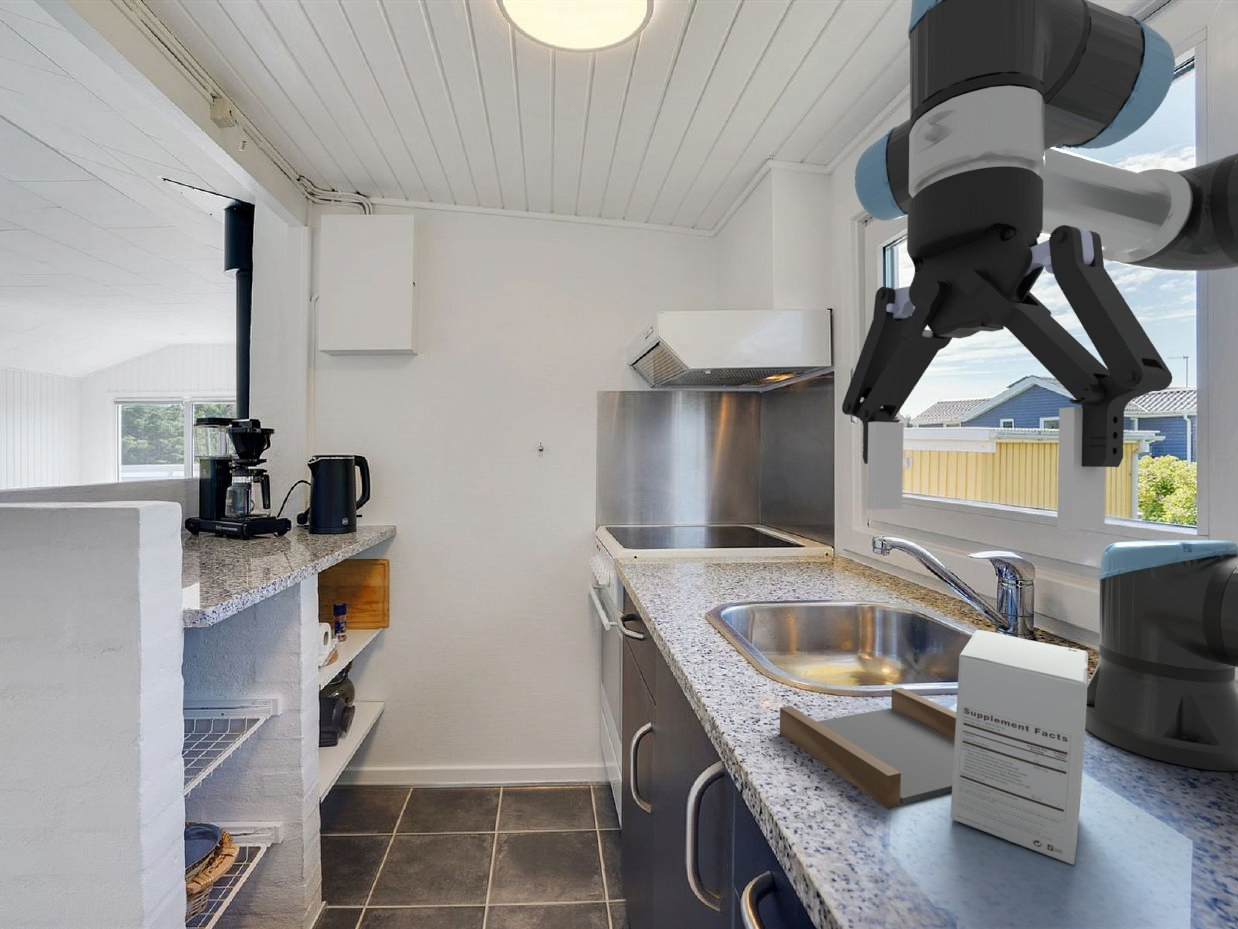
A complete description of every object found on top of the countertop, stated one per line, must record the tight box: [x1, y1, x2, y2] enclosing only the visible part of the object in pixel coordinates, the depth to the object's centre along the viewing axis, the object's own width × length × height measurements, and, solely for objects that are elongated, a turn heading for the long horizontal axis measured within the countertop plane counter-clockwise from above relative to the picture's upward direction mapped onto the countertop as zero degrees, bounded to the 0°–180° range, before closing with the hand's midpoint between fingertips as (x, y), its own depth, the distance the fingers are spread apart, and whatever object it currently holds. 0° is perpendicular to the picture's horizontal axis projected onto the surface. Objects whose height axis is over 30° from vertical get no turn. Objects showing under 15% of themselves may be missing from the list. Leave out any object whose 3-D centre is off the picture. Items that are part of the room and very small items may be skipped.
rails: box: [779, 687, 956, 809], centre depth 65 cm, size 18×16×3 cm
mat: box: [816, 707, 955, 806], centre depth 65 cm, size 15×16×1 cm
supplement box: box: [950, 629, 1089, 865], centre depth 52 cm, size 9×9×15 cm
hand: (966, 518), depth 39 cm, fingers open, 13 cm apart
